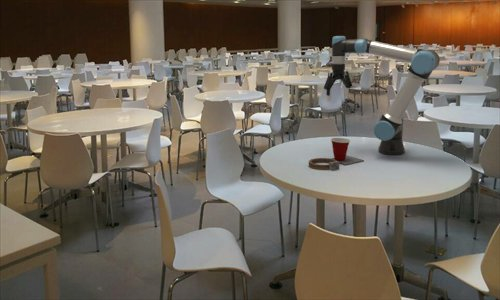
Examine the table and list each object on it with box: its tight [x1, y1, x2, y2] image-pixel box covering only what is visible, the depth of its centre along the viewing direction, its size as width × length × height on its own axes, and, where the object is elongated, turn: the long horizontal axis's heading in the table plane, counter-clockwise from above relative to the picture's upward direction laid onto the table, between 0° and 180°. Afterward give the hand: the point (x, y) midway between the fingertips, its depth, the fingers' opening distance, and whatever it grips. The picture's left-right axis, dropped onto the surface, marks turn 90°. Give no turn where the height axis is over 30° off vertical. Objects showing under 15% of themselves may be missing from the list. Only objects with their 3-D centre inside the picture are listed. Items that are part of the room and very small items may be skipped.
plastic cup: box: [330, 137, 351, 161], centre depth 281 cm, size 11×11×12 cm
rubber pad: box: [330, 154, 365, 166], centre depth 283 cm, size 14×14×1 cm
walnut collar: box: [308, 157, 340, 172], centre depth 273 cm, size 15×18×4 cm
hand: (338, 100), depth 296 cm, fingers open, 13 cm apart
